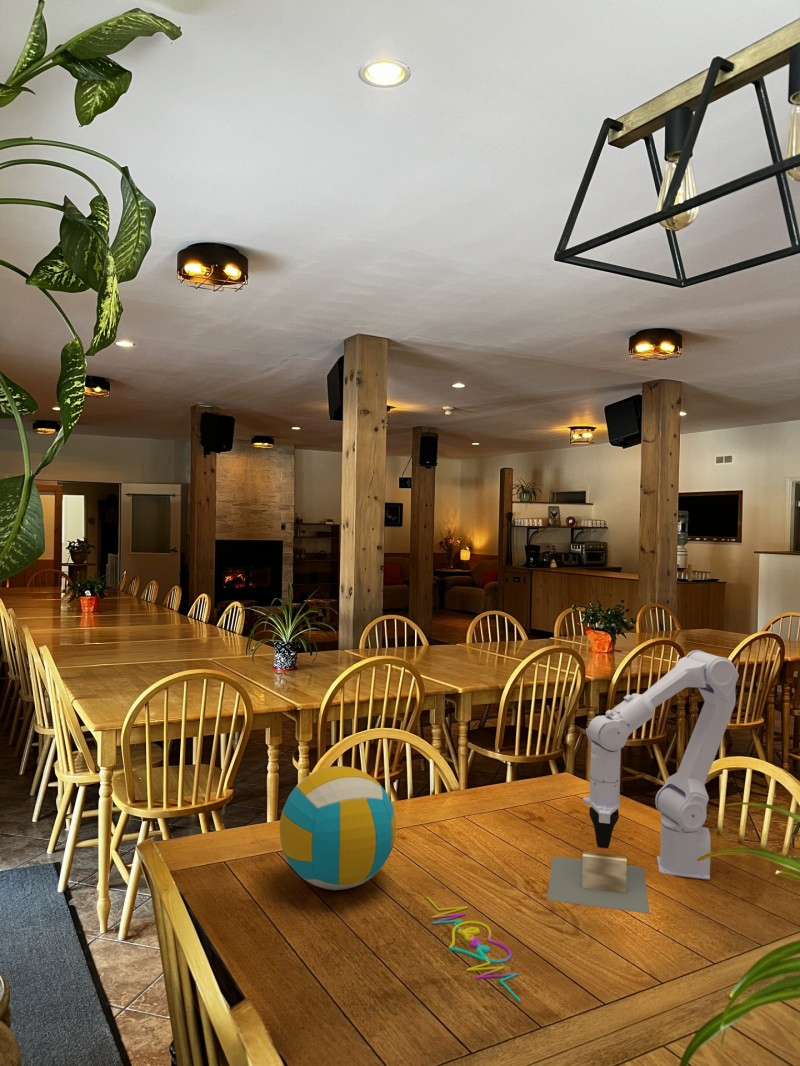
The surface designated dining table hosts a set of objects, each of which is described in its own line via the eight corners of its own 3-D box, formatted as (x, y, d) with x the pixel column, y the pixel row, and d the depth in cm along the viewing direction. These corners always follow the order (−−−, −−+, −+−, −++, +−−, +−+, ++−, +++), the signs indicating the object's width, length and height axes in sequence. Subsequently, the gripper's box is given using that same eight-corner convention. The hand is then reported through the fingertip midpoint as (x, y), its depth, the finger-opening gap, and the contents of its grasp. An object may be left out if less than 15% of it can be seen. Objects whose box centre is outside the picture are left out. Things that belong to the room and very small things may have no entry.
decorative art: (498, 1009, 114) (556, 994, 118) (498, 1004, 114) (557, 989, 118) (404, 903, 145) (453, 894, 149) (404, 899, 145) (453, 890, 149)
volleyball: (414, 899, 146) (416, 779, 146) (298, 921, 137) (300, 794, 137) (369, 853, 166) (371, 747, 166) (265, 869, 157) (267, 758, 157)
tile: (625, 888, 152) (626, 856, 152) (625, 893, 150) (626, 861, 150) (582, 882, 154) (583, 851, 154) (582, 887, 152) (582, 856, 152)
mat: (643, 868, 162) (643, 866, 162) (649, 915, 142) (649, 913, 142) (552, 857, 166) (552, 856, 166) (546, 902, 146) (546, 899, 146)
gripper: (584, 765, 166) (582, 830, 166) (583, 787, 152) (581, 858, 152) (619, 769, 165) (617, 834, 165) (622, 791, 151) (619, 863, 151)
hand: (602, 846), depth 158 cm, fingers closed
